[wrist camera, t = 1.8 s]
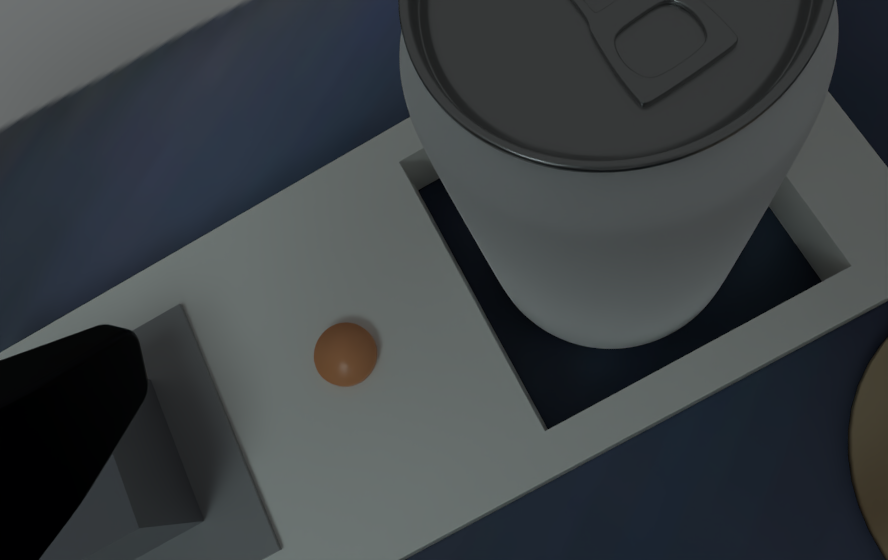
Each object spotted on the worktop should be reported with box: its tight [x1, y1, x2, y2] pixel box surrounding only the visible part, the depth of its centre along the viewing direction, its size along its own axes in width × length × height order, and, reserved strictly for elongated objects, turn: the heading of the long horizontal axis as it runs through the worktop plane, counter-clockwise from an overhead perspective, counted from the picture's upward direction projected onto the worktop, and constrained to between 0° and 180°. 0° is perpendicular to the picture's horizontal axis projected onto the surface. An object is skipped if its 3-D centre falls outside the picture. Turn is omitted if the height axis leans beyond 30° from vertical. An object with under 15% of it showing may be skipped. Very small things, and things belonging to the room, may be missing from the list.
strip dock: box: [0, 91, 888, 560], centre depth 21 cm, size 10×24×2 cm, turn 118°
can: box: [398, 0, 839, 349], centre depth 16 cm, size 6×6×12 cm
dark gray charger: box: [39, 379, 204, 560], centre depth 19 cm, size 4×4×3 cm
